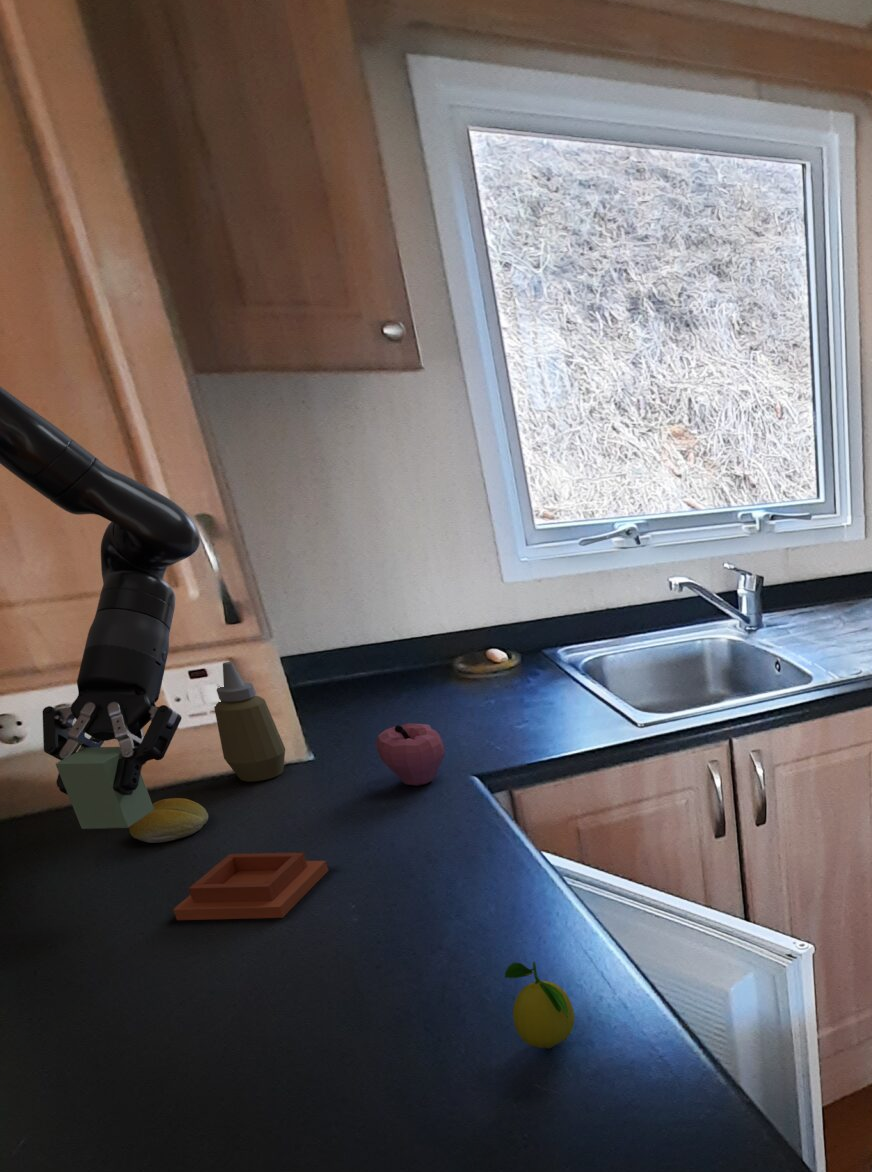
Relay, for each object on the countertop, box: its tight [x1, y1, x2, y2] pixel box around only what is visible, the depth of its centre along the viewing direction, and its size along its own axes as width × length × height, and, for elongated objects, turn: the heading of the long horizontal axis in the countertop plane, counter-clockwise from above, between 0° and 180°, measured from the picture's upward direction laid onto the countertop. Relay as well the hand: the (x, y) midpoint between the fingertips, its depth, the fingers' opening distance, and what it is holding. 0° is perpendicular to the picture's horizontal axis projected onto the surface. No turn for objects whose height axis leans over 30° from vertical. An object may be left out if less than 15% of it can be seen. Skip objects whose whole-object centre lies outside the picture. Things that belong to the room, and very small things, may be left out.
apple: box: [375, 722, 446, 787], centre depth 159 cm, size 10×9×10 cm
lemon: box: [504, 960, 575, 1049], centre depth 102 cm, size 7×6×10 cm
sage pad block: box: [55, 746, 154, 830], centre depth 119 cm, size 5×5×8 cm
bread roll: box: [128, 797, 209, 844], centre depth 144 cm, size 8×9×4 cm
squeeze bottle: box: [213, 661, 286, 782], centre depth 159 cm, size 8×8×18 cm
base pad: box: [172, 852, 329, 921], centre depth 129 cm, size 12×12×4 cm
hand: (95, 792), depth 118 cm, fingers closed on sage pad block, 5 cm apart
